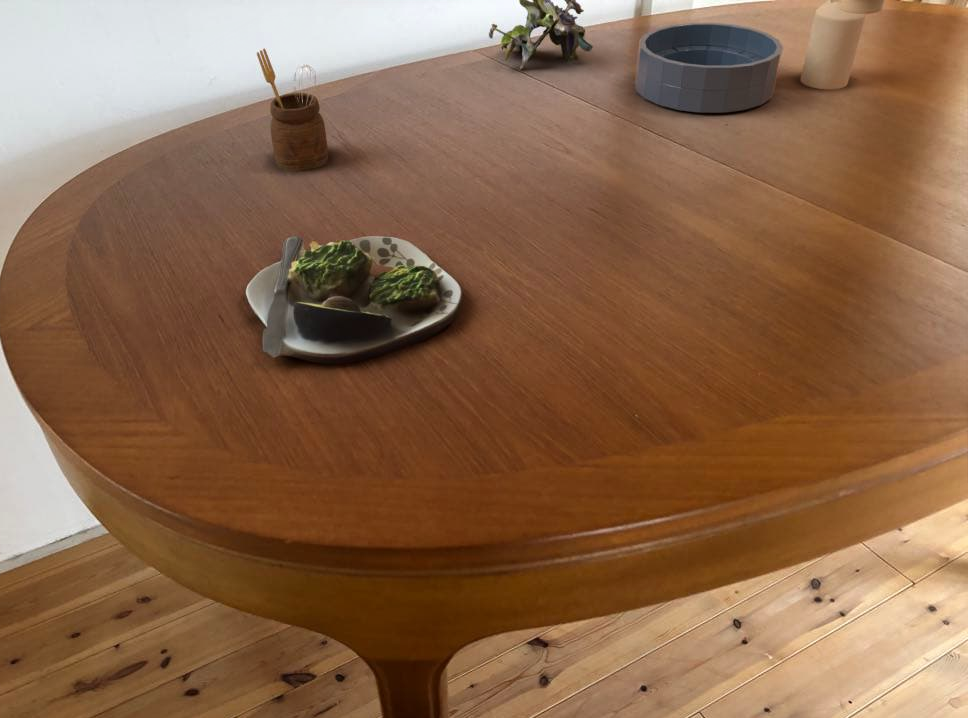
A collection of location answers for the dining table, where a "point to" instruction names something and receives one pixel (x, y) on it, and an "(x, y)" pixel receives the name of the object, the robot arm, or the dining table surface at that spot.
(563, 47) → the passion flower
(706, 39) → the bowl
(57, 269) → the dining table surface
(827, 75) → the cream bottle
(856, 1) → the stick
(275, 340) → the avocado toast plate
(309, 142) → the utensil holder
